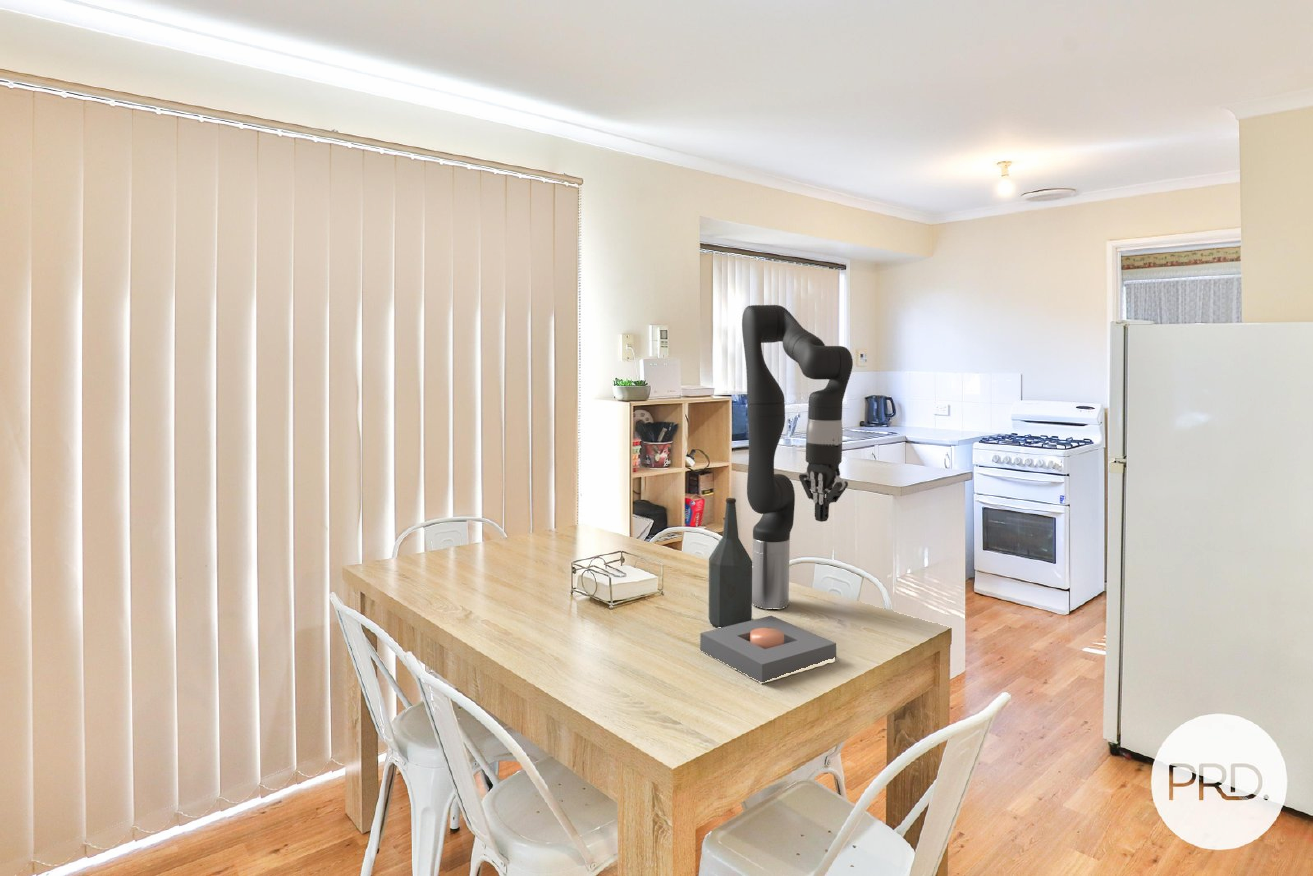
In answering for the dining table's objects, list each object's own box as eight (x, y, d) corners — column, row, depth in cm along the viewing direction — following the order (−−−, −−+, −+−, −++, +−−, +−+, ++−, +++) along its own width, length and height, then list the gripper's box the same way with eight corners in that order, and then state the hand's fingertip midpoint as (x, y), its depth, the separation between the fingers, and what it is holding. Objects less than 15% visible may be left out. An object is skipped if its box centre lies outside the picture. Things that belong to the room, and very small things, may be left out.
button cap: (743, 650, 160) (743, 632, 159) (768, 643, 164) (768, 625, 163) (765, 661, 154) (765, 642, 154) (790, 654, 158) (791, 635, 157)
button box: (700, 651, 162) (700, 633, 161) (771, 632, 173) (771, 615, 172) (761, 684, 145) (762, 664, 145) (835, 661, 156) (836, 643, 156)
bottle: (754, 618, 182) (756, 495, 179) (748, 632, 173) (749, 503, 170) (712, 614, 185) (713, 493, 182) (704, 628, 176) (704, 501, 172)
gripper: (789, 438, 164) (787, 516, 166) (833, 445, 153) (830, 529, 155) (815, 436, 168) (812, 513, 170) (860, 443, 157) (856, 525, 159)
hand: (821, 520), depth 162 cm, fingers closed
